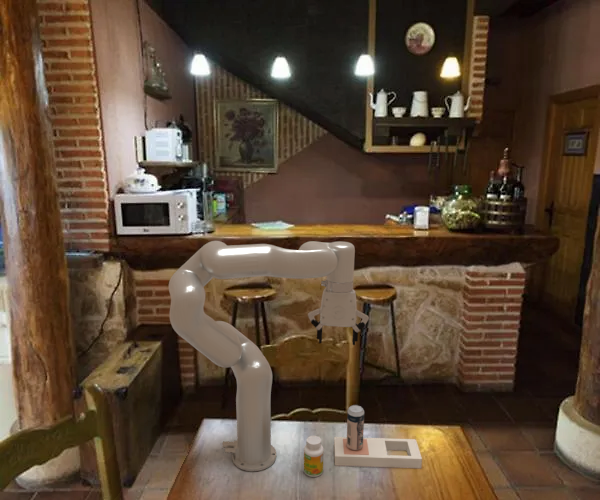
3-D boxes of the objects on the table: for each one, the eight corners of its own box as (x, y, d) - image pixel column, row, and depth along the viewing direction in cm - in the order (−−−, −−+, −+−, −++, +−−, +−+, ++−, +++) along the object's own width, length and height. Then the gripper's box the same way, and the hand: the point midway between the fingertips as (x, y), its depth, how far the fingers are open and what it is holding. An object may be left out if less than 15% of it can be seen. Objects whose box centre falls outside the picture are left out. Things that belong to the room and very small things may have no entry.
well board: (334, 465, 136) (335, 455, 135) (334, 445, 144) (334, 436, 144) (421, 468, 135) (422, 458, 134) (415, 448, 143) (415, 438, 143)
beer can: (362, 452, 136) (363, 414, 133) (345, 450, 137) (346, 412, 134) (363, 442, 141) (365, 405, 138) (347, 440, 142) (348, 403, 139)
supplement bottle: (300, 474, 132) (301, 443, 130) (307, 462, 137) (307, 432, 134) (319, 479, 130) (320, 447, 128) (325, 467, 135) (326, 436, 133)
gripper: (308, 288, 133) (306, 345, 137) (371, 291, 132) (367, 349, 136) (309, 280, 140) (308, 335, 144) (369, 283, 139) (366, 339, 143)
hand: (337, 342), depth 140 cm, fingers open, 9 cm apart
